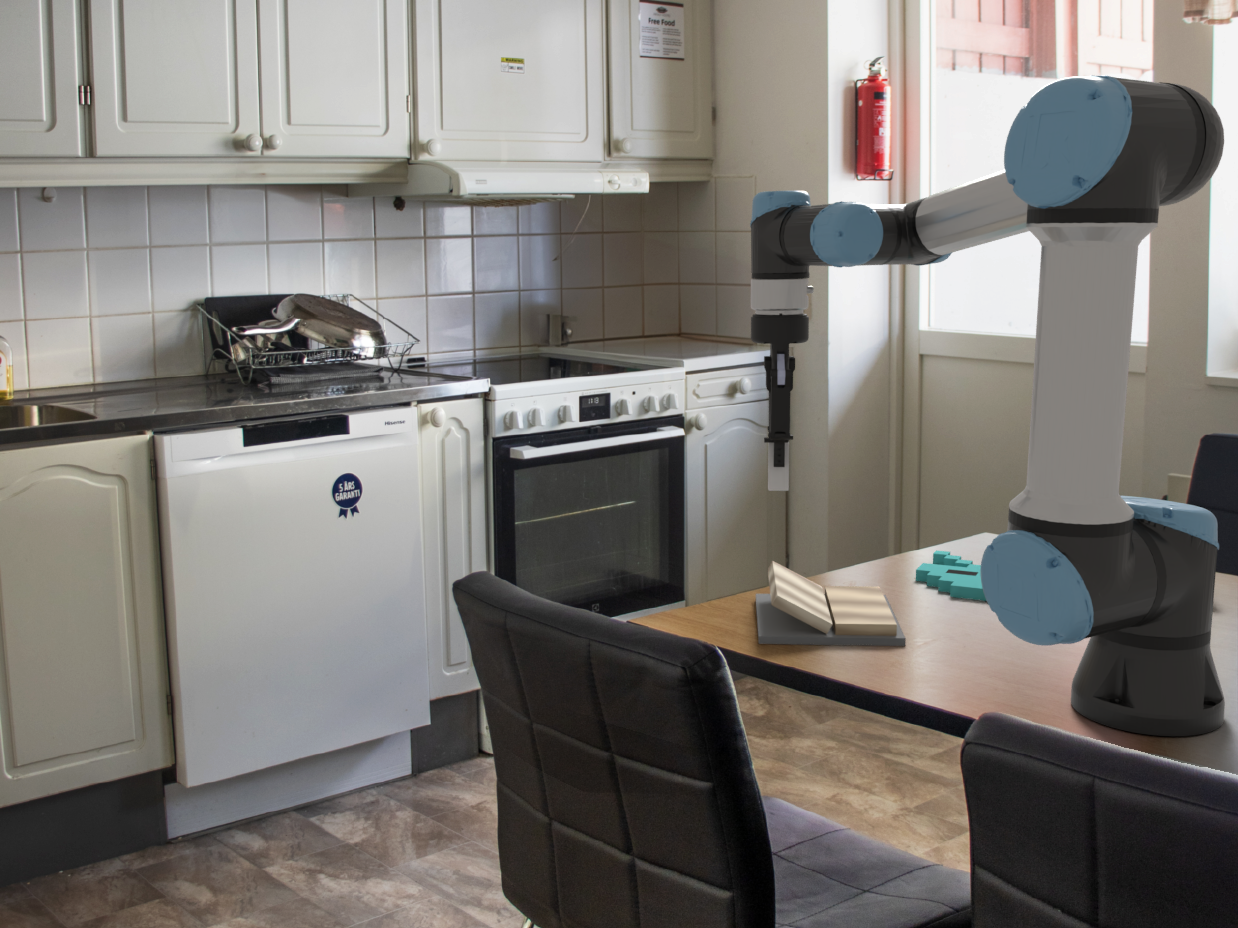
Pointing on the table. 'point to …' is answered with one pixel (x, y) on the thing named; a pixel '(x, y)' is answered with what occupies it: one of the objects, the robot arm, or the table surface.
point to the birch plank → (798, 597)
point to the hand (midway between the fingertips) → (778, 489)
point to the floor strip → (859, 611)
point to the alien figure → (952, 576)
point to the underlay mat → (810, 629)
